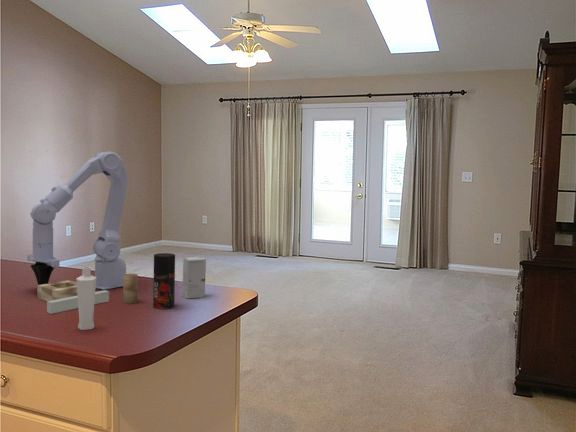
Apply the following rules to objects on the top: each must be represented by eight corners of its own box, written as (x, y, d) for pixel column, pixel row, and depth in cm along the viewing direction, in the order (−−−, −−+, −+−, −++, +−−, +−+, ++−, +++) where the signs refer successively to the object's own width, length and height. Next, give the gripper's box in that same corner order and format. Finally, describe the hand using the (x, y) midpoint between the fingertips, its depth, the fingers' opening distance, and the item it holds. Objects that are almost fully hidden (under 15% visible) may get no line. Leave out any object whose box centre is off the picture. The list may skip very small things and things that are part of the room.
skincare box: (187, 299, 158) (188, 260, 157) (181, 296, 162) (182, 257, 161) (205, 297, 162) (206, 258, 161) (199, 294, 166) (200, 256, 165)
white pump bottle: (79, 324, 130) (79, 265, 128) (97, 324, 130) (97, 265, 129) (73, 330, 125) (73, 269, 124) (91, 330, 126) (92, 269, 124)
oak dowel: (131, 299, 156) (131, 273, 155) (140, 301, 154) (140, 274, 153) (120, 301, 153) (120, 275, 152) (129, 304, 150) (129, 277, 150)
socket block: (68, 292, 161) (68, 280, 160) (87, 298, 155) (88, 285, 155) (37, 298, 153) (37, 285, 152) (56, 304, 147) (56, 290, 147)
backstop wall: (104, 300, 154) (104, 290, 153) (108, 301, 153) (109, 291, 152) (46, 312, 139) (46, 301, 139) (51, 313, 138) (51, 302, 138)
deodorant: (178, 305, 151) (179, 254, 150) (167, 310, 146) (167, 257, 144) (160, 302, 153) (161, 252, 152) (148, 307, 148) (149, 255, 146)
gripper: (17, 241, 159) (17, 285, 160) (43, 247, 151) (43, 293, 152) (39, 239, 165) (39, 281, 166) (65, 244, 157) (65, 289, 158)
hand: (43, 287), depth 160 cm, fingers closed
